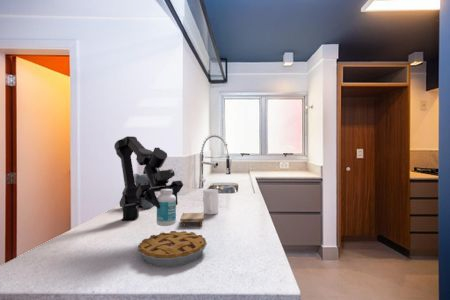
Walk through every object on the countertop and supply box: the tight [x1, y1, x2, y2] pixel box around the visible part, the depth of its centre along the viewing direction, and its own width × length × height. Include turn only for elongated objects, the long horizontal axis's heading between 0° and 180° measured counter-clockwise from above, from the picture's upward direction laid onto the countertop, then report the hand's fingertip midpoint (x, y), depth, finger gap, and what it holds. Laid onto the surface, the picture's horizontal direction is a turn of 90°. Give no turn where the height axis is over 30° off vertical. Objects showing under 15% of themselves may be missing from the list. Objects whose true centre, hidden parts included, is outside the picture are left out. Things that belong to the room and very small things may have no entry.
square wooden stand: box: [179, 212, 205, 227], centre depth 118 cm, size 10×10×4 cm
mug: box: [202, 188, 219, 215], centre depth 136 cm, size 8×12×12 cm
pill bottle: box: [156, 189, 177, 227], centre depth 102 cm, size 8×7×14 cm
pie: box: [137, 230, 208, 268], centre depth 85 cm, size 22×22×5 cm
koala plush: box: [133, 172, 158, 209], centre depth 156 cm, size 17×18×20 cm
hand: (168, 206), depth 101 cm, fingers closed on pill bottle, 7 cm apart
